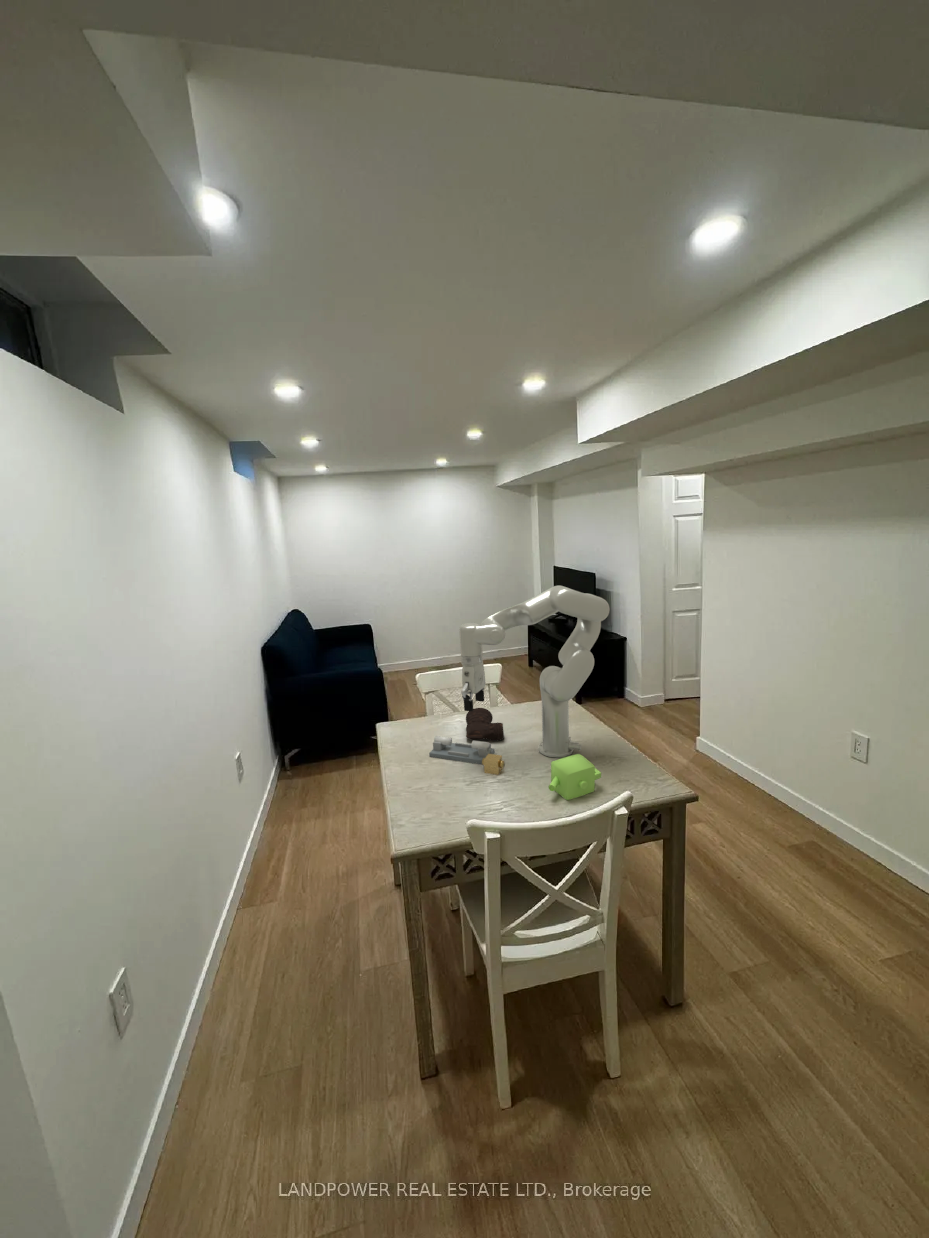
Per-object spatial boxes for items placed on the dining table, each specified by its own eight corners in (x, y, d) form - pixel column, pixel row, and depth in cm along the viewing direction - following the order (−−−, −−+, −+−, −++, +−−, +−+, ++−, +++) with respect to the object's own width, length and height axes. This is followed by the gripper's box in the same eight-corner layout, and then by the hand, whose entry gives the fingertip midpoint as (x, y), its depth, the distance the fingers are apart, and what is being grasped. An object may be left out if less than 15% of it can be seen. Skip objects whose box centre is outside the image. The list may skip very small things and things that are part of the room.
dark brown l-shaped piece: (502, 726, 186) (500, 705, 200) (463, 729, 187) (464, 708, 201) (505, 747, 190) (503, 725, 204) (466, 750, 191) (467, 728, 205)
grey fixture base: (494, 752, 181) (494, 737, 180) (485, 764, 172) (484, 749, 171) (440, 745, 190) (440, 730, 189) (429, 756, 181) (428, 741, 180)
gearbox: (556, 809, 145) (556, 780, 143) (539, 791, 154) (538, 764, 152) (606, 792, 152) (606, 764, 149) (586, 776, 161) (586, 750, 158)
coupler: (505, 769, 169) (505, 755, 168) (501, 775, 165) (501, 761, 164) (485, 766, 172) (485, 753, 171) (481, 772, 167) (480, 758, 167)
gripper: (471, 666, 160) (474, 716, 164) (491, 653, 176) (493, 698, 179) (451, 665, 164) (454, 713, 167) (472, 652, 179) (474, 696, 182)
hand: (474, 705), depth 173 cm, fingers open, 9 cm apart
